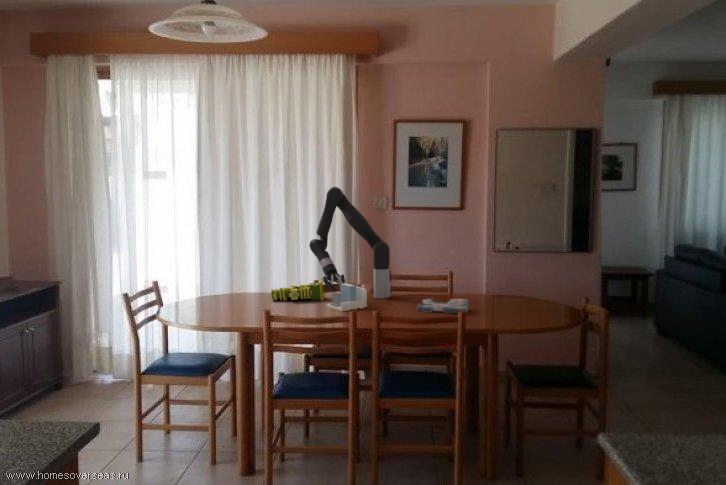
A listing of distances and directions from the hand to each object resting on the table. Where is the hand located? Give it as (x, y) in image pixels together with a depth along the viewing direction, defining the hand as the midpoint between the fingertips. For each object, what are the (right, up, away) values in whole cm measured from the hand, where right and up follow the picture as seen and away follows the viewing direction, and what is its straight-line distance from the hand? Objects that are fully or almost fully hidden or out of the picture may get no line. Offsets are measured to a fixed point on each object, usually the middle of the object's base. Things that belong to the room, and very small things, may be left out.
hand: (339, 290), depth 347 cm
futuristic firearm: (+57, -9, -15) cm, 60 cm away
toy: (-25, -7, +15) cm, 30 cm away
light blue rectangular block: (+5, -7, -7) cm, 11 cm away
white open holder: (+4, -8, -7) cm, 12 cm away
